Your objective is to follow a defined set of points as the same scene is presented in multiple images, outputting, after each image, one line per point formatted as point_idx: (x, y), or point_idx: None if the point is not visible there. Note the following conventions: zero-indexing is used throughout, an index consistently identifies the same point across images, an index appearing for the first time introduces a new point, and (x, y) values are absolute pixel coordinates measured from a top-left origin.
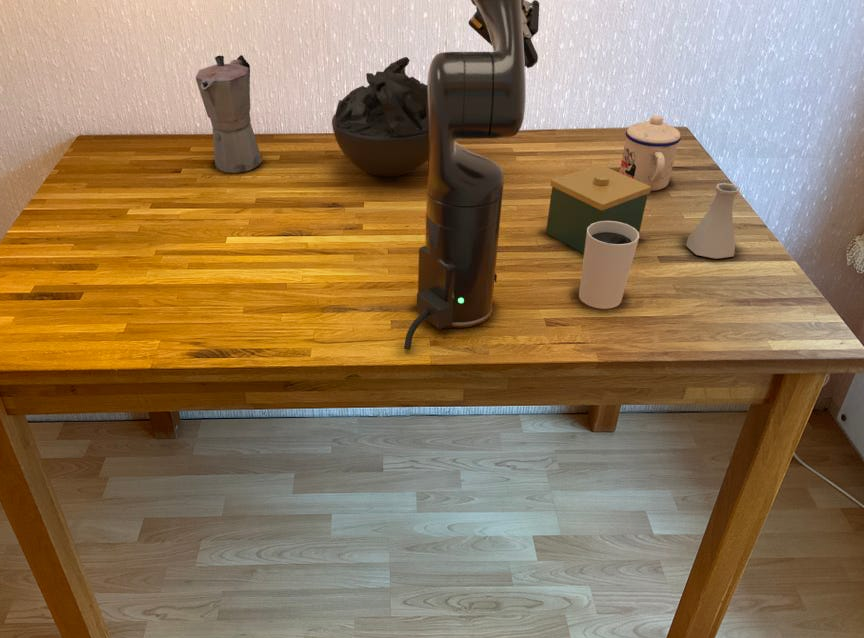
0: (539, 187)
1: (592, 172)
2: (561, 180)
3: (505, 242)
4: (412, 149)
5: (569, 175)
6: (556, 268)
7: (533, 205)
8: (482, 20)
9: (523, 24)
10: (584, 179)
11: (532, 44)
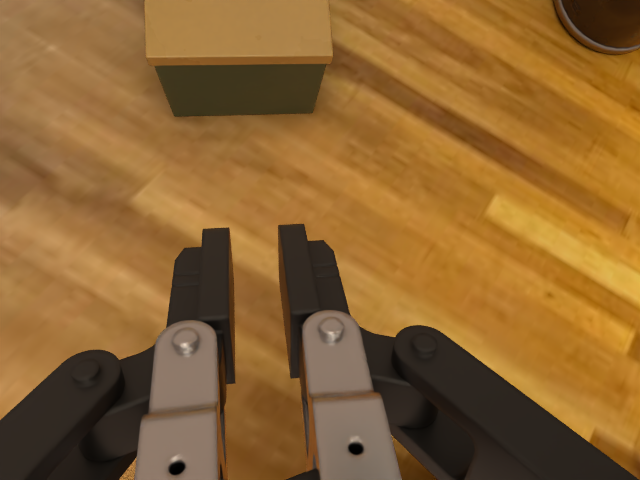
0: (163, 302)
1: (205, 28)
2: (312, 38)
3: (408, 129)
4: None
5: (273, 48)
6: (384, 3)
7: (246, 229)
8: (623, 472)
9: (187, 407)
10: (256, 9)
11: (172, 309)
